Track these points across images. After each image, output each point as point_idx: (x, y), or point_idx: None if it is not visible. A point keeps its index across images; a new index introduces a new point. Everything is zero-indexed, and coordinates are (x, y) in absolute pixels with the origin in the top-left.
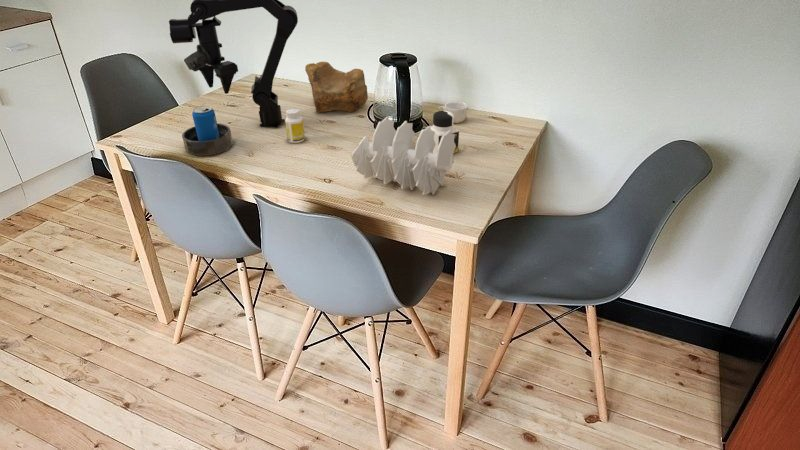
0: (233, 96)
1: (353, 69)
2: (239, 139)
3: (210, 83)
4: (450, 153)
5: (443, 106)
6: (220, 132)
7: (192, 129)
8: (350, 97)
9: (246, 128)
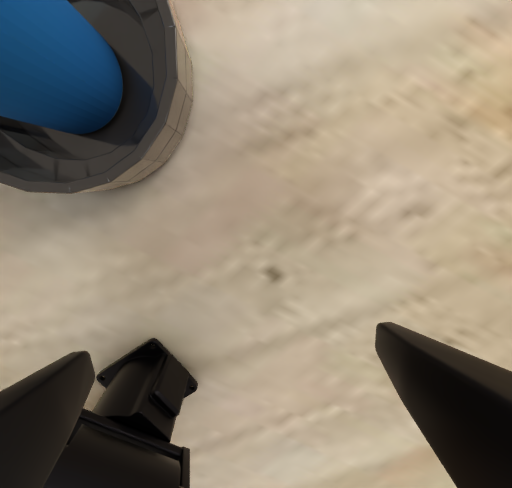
0: None
1: None
2: (87, 222)
3: (401, 363)
4: None
5: None
6: (102, 159)
7: (159, 13)
8: None
9: (176, 294)
